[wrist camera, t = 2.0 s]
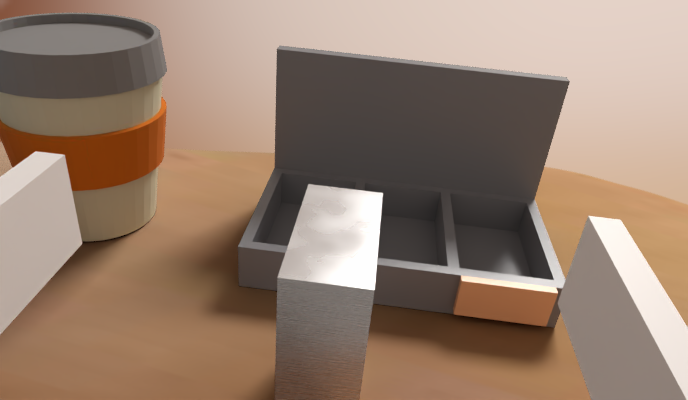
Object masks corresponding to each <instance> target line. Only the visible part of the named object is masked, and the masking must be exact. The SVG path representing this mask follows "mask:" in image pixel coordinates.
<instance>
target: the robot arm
mask: <svg viewBox="0 0 688 400" xmlns="http://www.w3.org/2000/svg"><path fill="white" fill-rule="evenodd" d="M81 245H82V239H81V234H80V229H79V224H78V219H77V214H76V209H75V204H74V199H73V194H72V189H71V184H70V179H69V174H68V169H67V164H66V159H65V155H63V154H54V153H46V152H37V151H35V152H34V153H33V154H31V155H30V156H29V157H27V158H26V159H24V160H23V161H22V162H20V163H19V164H17V165H16V166H15V167H13V168H12V169H11V170H9V171H8V172H6V173H5V174H4V175H2V176H1V177H0V334H1V333H2V332H3V331H4V330H5V329H6V328H7V327H8V325H9V324H10V323H11V322H12V321H13V320H14V319H15V318H16V317H17V316H18V314H19V313H20V312H21V311H22V310H23V309H24V308H25V307H26V306H27V304H28V303H29V302H30V301H31V300H32V299H33V298H34V297H35V296H36V294H37V293H38V292H39V291H40V290H41V289H42V288H43V287H44V286H45V285H46V283H47V282H48V281H49V280H50V279H51V278H52V277H53V276H54V275H55V273H56V272H57V271H58V270H59V269H60V268H61V267H62V266H63V265H64V263H65V262H66V261H67V260H68V259H69V258H70V257H71V256H72V255H73V254H74V252H75V251H76V250H77V249H78V248H79V247H80V246H81ZM558 306H559V309H560V312H561V314H562V317H563V320H564V323H565V326H566V329H567V332H568V334H569V337H570V340H571V343H572V346H573V349H574V352H575V354H576V357H577V360H578V363H579V366H580V369H581V371H582V374H583V377H584V380H585V383H586V386H587V389H588V391H589V394H590V397H591V400H688V327H687V326H686V324H685V322H684V321H683V319H682V317H681V316H680V314H679V313H678V311H677V309H676V308H675V306H674V305H673V303H672V301H671V300H670V298H669V297H668V295H667V293H666V292H665V290H664V289H663V287H662V285H661V284H660V282H659V281H658V279H657V277H656V276H655V274H654V273H653V271H652V269H651V268H650V266H649V265H648V263H647V261H646V260H645V258H644V257H643V255H642V253H641V252H640V250H639V249H638V247H637V245H636V244H635V242H634V241H633V239H632V237H631V236H630V234H629V233H628V231H627V229H626V228H625V226H624V225H623V223H622V221H621V220H619V219H610V218H602V217H593V216H588V218H587V221H586V224H585V227H584V230H583V233H582V235H581V238H580V241H579V244H578V247H577V249H576V252H575V255H574V258H573V261H572V264H571V266H570V269H569V272H568V275H567V278H566V281H565V283H564V286H563V289H562V292H561V295H560V297H559V300H558Z"/></svg>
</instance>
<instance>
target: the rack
mask: <svg viewBox="0 0 688 400" xmlns="http://www.w3.org/2000/svg"><path fill="white" fill-rule="evenodd" d="M568 85H569V80H568V79H567V77H559V76H549V75H541V74H532V73H531V74H530V73H522V72H513V71H504V70H495V69H486V68H477V67H468V66H459V65H450V64H440V63H432V62H423V61H413V60H405V59H396V58H386V57H377V56H368V55H360V54H351V53H342V52H332V51H324V50H315V49H305V48H296V47H287V46H279V47H278V49H277V76H276V128H275V129H276V130H275V168H274V170H273V172H272V175H271V177H270V179H269V181H268V183H267V185H266V187H265V190H264V192H263V194H262V196H261V198H260V200H259V202H258V205H257V207H256V209H255V211H254V213H253V215H252V218H251V220H250V222H249V224H248V226H247V228H246V230H245V233H244V235H243V237H242V239H241V241H240V243H239V245H238V273H239V286H244V287H252V288H259V289H267V290H274V291H277V277H278V274H279V271H280V268H281V265H282V262H283V259H284V256H285V253H286V250H287V247H288V244H289V241H290V238H291V235H292V232H293V229H294V226H295V223H296V220H297V217H298V214H299V211H300V208H301V205H302V202H303V199H304V196H305V193H306V190H307V187H308V184H313V185H321V186H329V187H337V188H346V189H354V190H362V191H370V192H379V193H383V199H382V211H381V222H380V234H379V245H378V257H377V269H376V280H375V291H374V298H373V304H380V305H388V306H395V307H403V308H411V309H418V310H426V311H433V312H441V313H448V314H454V315H462V316H469V317H477V318H484V319H492V320H500V321H507V322H515V323H522V324H530V325H537V326H545V327H546V326H547V327H554V328H555V325H556V322H557V320H558V317H559V314H560V309H559V306H558V300H559V297H560V295H561V292H562V289H563V286H564V283H565V281H566V280H565V278H564V275H563V273H562V270H561V267H560V265H559V262H558V259H557V257H556V254H555V252H554V249H553V246H552V244H551V241H550V239H549V236H548V233H547V231H546V228H545V226H544V223H543V220H542V218H541V215H540V213H539V210H538V207H537V205H536V202H535V195H536V192H537V189H538V185H539V182H540V179H541V175H542V172H543V169H544V165H545V162H546V159H547V155H548V152H549V149H550V145H551V142H552V139H553V135H554V132H555V129H556V125H557V122H558V119H559V115H560V112H561V109H562V105H563V101H564V99H565V95H566V92H567V89H568Z"/></svg>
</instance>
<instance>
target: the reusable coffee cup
mask: <svg viewBox="0 0 688 400" xmlns="http://www.w3.org/2000/svg"><path fill="white" fill-rule="evenodd" d="M166 71H167V68H166V62H165V57H164V52H163V47H162V41H161V36H160V31H159V29H158V28H157V27H156V26H154V25H152V24H150V23H148V22H145V21H142V20H139V19H134V18H130V17H124V16H117V15H108V14H95V13H49V14H36V15H27V16H19V17H13V18H7V19H3V20H0V138H1V140H2V143H3V145H4V148H5V150H6V153H7V155H8V157H9V160H10V162H11V165H12V167H15V166H16V165H17V164H19V163H20V162H22V161H23V160H24V159H26V158H27V157H29V156H30V155H31V154H33V153H34V152H35V151H37V152H46V153H54V154H63V155H65V159H66V164H67V169H68V174H69V179H70V184H71V189H72V194H73V199H74V204H75V209H76V214H77V219H78V224H79V229H80V234H81V239H82V241H99V240H106V239H112V238H116V237H119V236H123V235H126V234H128V233H131V232H133V231H135V230H137V229H139V228H141V227H142V226H144V225H145V224H146V223H147V222H149V221H150V220H151V218H152V217H153V216H154V214H155V211H156V200H157V179H158V166H159V164H160V163H161V162H162V160H163V157H164V143H165V124H166V102H165V100H164V99H163V97H161V95H162V77H163V76H164V75H165V73H166Z"/></svg>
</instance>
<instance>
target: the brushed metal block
mask: <svg viewBox="0 0 688 400" xmlns="http://www.w3.org/2000/svg"><path fill="white" fill-rule="evenodd" d="M382 199H383V193H379V192H370V191H362V190H354V189H346V188H337V187H329V186H321V185H313V184H308V187H307V190H306V193H305V196H304V199H303V202H302V205H301V208H300V211H299V214H298V217H297V220H296V223H295V226H294V229H293V232H292V235H291V238H290V241H289V244H288V247H287V250H286V253H285V256H284V259H283V262H282V265H281V268H280V271H279V274H278V277H277V320H276V364H275V400H359V399H360V391H361V384H362V377H363V370H364V363H365V356H366V348H367V341H368V334H369V327H370V320H371V313H372V305H373V298H374V291H375V280H376V269H377V257H378V245H379V234H380V222H381V211H382Z"/></svg>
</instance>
